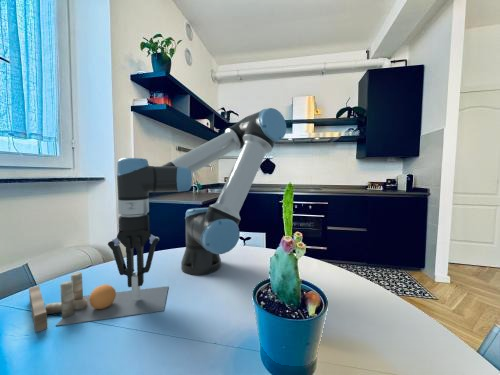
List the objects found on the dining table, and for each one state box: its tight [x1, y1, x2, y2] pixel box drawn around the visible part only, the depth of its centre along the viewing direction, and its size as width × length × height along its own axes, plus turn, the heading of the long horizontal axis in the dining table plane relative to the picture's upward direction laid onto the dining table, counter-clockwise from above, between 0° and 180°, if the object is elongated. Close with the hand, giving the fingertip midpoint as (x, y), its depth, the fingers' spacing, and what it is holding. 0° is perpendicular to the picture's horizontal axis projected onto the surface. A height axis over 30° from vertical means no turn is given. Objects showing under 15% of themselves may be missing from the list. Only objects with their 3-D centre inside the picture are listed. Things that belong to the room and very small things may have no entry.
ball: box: [89, 284, 117, 309], centre depth 60 cm, size 6×6×6 cm
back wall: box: [28, 285, 48, 333], centre depth 57 cm, size 18×2×4 cm, turn 47°
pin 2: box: [70, 272, 84, 300], centre depth 62 cm, size 2×2×8 cm
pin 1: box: [59, 280, 74, 319], centre depth 57 cm, size 2×2×8 cm
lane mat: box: [55, 286, 169, 327], centre depth 62 cm, size 24×13×1 cm, turn 105°
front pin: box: [45, 299, 87, 315], centre depth 59 cm, size 2×2×8 cm
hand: (136, 296), depth 63 cm, fingers closed
